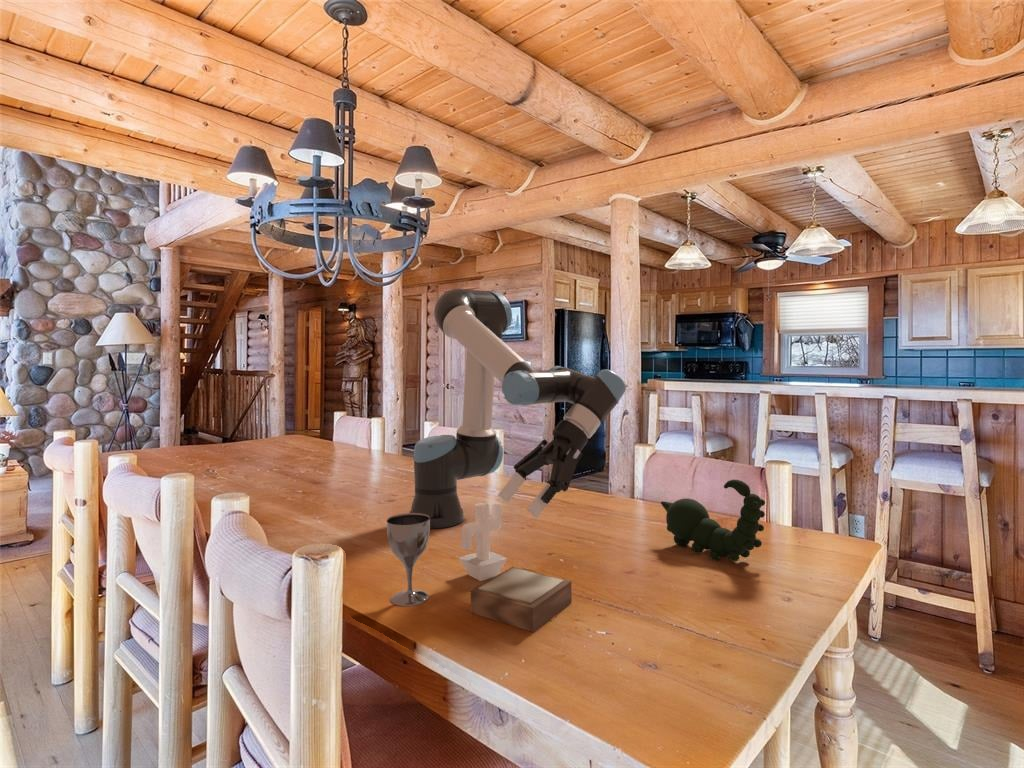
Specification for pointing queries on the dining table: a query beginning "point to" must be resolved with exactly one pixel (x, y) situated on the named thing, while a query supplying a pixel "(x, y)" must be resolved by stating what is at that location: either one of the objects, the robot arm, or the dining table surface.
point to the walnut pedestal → (521, 598)
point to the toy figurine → (716, 525)
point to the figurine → (482, 543)
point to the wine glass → (408, 550)
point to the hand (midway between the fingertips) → (516, 506)
